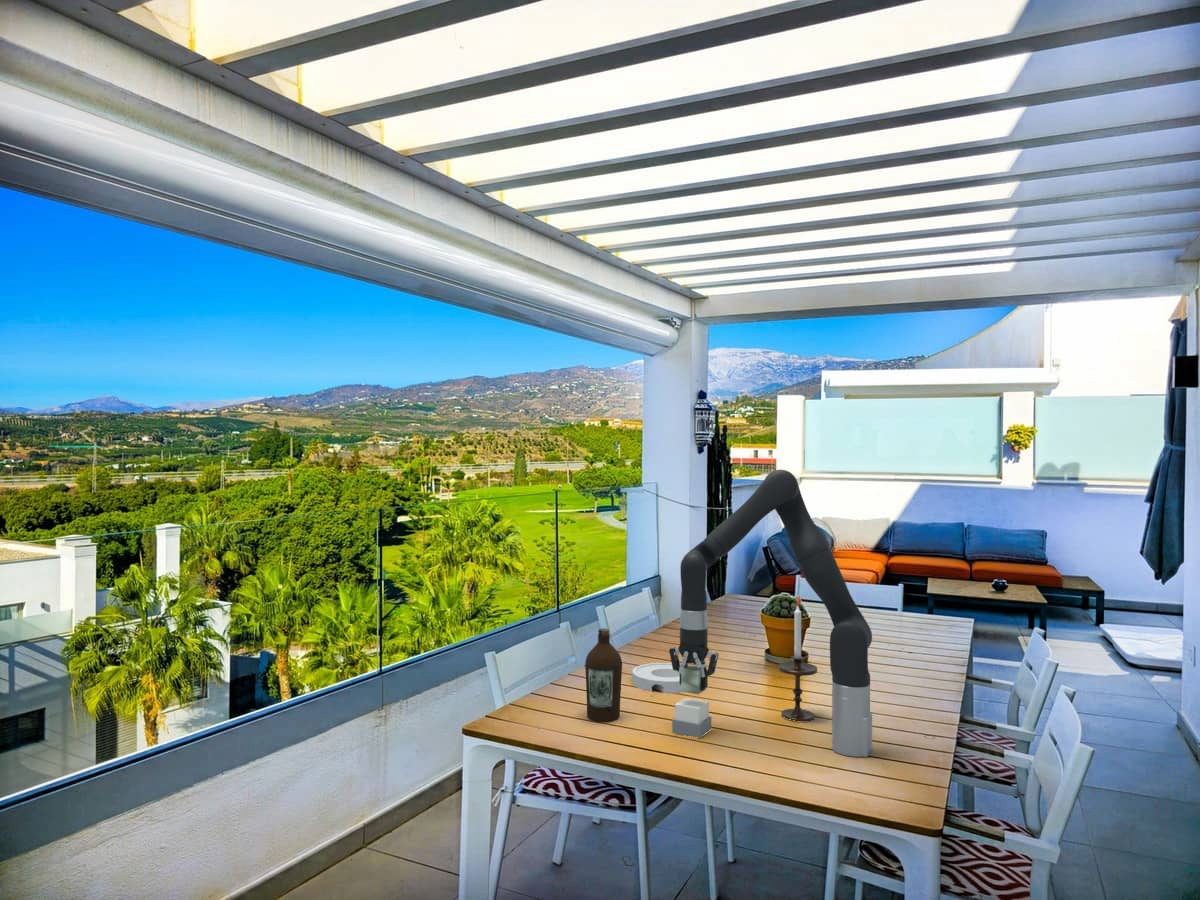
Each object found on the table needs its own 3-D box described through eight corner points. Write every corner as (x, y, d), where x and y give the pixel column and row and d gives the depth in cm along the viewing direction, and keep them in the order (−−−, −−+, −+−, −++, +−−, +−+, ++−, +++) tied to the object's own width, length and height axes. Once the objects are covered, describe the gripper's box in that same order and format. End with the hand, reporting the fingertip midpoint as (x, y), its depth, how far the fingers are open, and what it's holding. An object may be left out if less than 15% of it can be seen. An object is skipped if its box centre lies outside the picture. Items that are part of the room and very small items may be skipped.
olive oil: (589, 709, 228) (590, 624, 229) (625, 712, 226) (625, 626, 226) (580, 721, 218) (581, 632, 218) (617, 724, 216) (618, 634, 216)
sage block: (705, 689, 211) (705, 667, 211) (698, 694, 207) (698, 672, 207) (688, 687, 214) (688, 665, 214) (681, 691, 209) (681, 669, 209)
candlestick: (802, 709, 230) (802, 591, 231) (825, 720, 220) (825, 597, 220) (770, 713, 226) (771, 593, 227) (792, 725, 216) (793, 599, 217)
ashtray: (652, 697, 242) (652, 684, 242) (620, 678, 263) (620, 666, 263) (715, 689, 251) (715, 676, 251) (679, 671, 272) (679, 660, 272)
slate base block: (711, 731, 212) (711, 716, 212) (699, 740, 205) (699, 725, 205) (684, 726, 216) (684, 711, 216) (672, 734, 209) (672, 719, 209)
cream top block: (709, 716, 212) (709, 701, 212) (698, 723, 206) (698, 708, 206) (685, 712, 215) (685, 697, 216) (674, 719, 210) (674, 704, 210)
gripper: (723, 626, 210) (723, 689, 210) (675, 620, 217) (674, 681, 217) (713, 631, 204) (712, 696, 204) (663, 625, 211) (663, 687, 211)
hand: (693, 688), depth 210 cm, fingers closed on sage block, 5 cm apart
